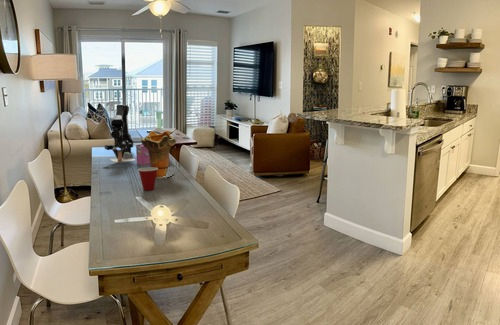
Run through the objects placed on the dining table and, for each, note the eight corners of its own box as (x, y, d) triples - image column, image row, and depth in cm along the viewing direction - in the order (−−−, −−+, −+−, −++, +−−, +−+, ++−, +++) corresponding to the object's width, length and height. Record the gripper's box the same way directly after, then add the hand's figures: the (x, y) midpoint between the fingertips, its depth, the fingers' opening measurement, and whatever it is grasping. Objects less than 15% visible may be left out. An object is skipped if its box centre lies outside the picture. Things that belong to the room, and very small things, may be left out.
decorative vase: (142, 180, 234) (141, 133, 230) (142, 173, 256) (140, 130, 252) (178, 179, 240) (177, 132, 235) (175, 172, 262) (174, 129, 257)
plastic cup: (156, 185, 225) (156, 165, 223) (160, 190, 216) (159, 169, 213) (137, 187, 221) (136, 166, 219) (140, 192, 211) (139, 171, 209)
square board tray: (108, 160, 292) (107, 155, 291) (129, 157, 302) (129, 152, 301) (115, 163, 280) (115, 158, 279) (137, 161, 290) (137, 156, 289)
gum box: (165, 159, 298) (164, 141, 295) (171, 160, 292) (171, 142, 289) (136, 163, 281) (135, 144, 278) (142, 165, 276) (141, 146, 273)
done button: (123, 156, 297) (123, 152, 297) (128, 155, 300) (128, 151, 299) (125, 156, 295) (125, 153, 294) (130, 156, 297) (129, 152, 296)
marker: (116, 160, 285) (116, 150, 283) (121, 160, 287) (120, 149, 286) (118, 161, 283) (117, 150, 281) (123, 161, 285) (122, 150, 283)
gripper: (109, 139, 269) (110, 161, 273) (135, 136, 281) (136, 158, 284) (103, 137, 278) (105, 158, 281) (129, 134, 289) (130, 155, 293)
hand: (119, 158), depth 284 cm, fingers closed on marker, 3 cm apart
